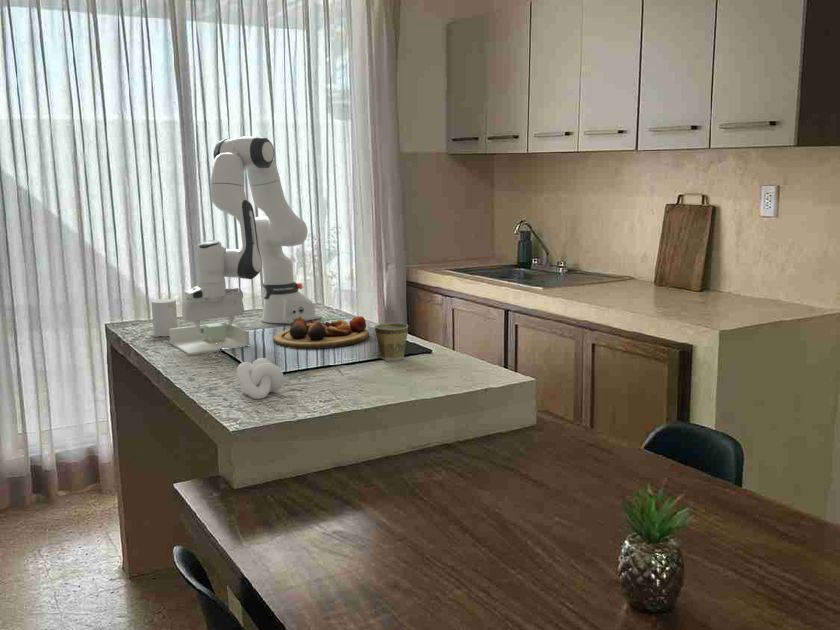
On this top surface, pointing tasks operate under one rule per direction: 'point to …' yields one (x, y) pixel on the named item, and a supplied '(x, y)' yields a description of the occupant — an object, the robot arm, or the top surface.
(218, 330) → the cube
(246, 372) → the white knot sculpture
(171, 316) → the cup
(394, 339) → the ceramic cup
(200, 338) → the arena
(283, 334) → the wooden plate with food
